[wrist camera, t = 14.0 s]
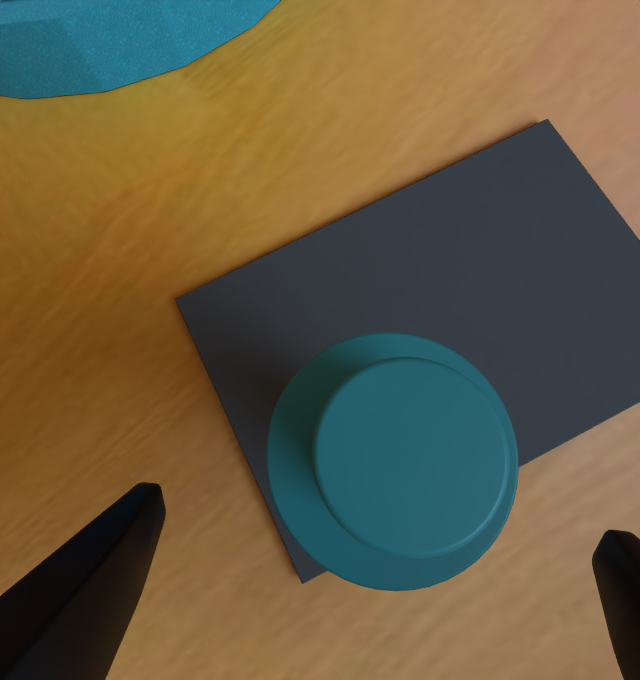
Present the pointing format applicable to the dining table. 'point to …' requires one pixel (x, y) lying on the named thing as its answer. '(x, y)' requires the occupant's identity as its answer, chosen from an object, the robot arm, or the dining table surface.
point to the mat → (445, 298)
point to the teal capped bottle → (392, 461)
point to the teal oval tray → (110, 40)
